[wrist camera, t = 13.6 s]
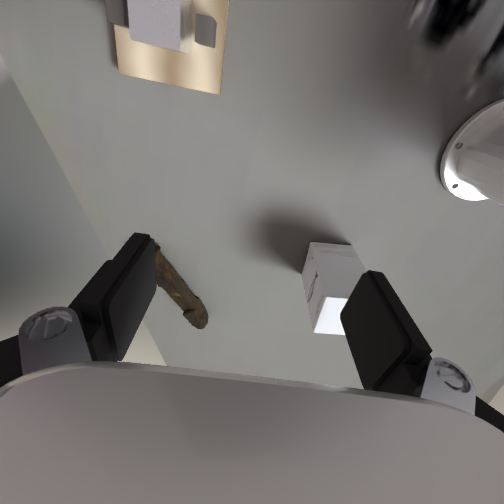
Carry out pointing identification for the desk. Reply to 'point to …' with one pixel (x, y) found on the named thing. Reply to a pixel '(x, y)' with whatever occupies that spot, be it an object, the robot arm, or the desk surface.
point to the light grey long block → (161, 23)
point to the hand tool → (180, 292)
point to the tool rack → (171, 62)
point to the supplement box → (330, 283)
